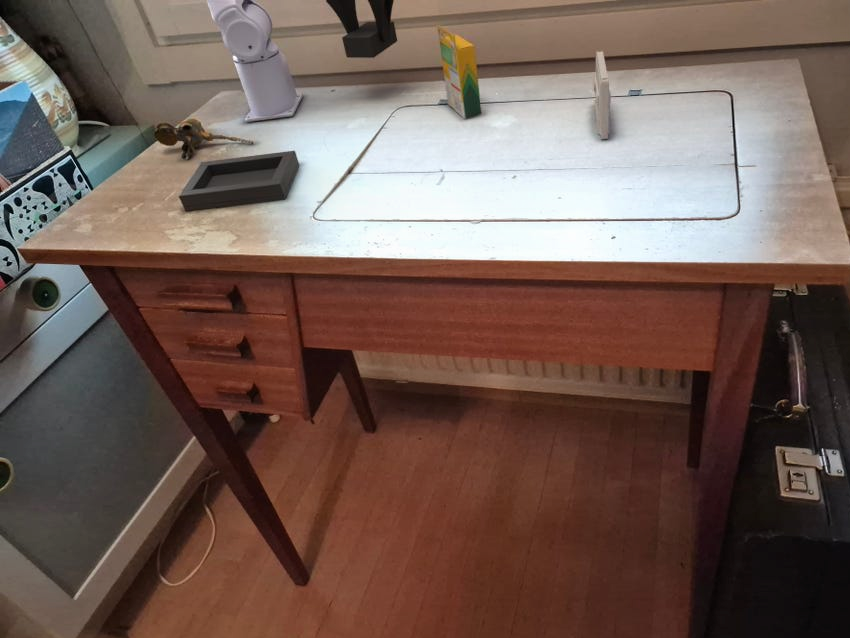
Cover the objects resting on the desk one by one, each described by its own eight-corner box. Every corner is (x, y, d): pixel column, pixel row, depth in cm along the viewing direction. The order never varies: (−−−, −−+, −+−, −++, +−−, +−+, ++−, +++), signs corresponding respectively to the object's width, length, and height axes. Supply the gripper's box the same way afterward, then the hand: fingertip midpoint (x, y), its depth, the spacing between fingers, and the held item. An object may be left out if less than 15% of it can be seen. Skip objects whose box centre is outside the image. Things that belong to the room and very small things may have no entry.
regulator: (262, 138, 103) (168, 129, 103) (255, 118, 99) (158, 109, 100) (249, 173, 99) (152, 164, 100) (241, 154, 96) (140, 144, 96)
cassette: (611, 139, 86) (612, 79, 81) (597, 140, 86) (597, 81, 81) (605, 105, 95) (606, 49, 90) (592, 106, 95) (592, 50, 90)
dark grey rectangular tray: (207, 176, 93) (201, 161, 91) (299, 165, 92) (294, 150, 90) (185, 211, 85) (178, 195, 84) (285, 199, 84) (279, 183, 83)
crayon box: (483, 114, 98) (473, 30, 90) (464, 119, 97) (453, 35, 90) (465, 100, 103) (454, 19, 96) (447, 104, 102) (435, 24, 95)
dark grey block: (371, 41, 109) (367, 21, 107) (397, 41, 107) (393, 21, 105) (346, 57, 104) (341, 37, 102) (373, 57, 102) (369, 37, 100)
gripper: (292, -51, 96) (318, 48, 104) (379, -57, 90) (398, 48, 99) (319, -62, 100) (341, 33, 109) (402, -68, 95) (419, 33, 104)
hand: (370, 39), depth 105 cm, fingers closed on dark grey block, 5 cm apart
